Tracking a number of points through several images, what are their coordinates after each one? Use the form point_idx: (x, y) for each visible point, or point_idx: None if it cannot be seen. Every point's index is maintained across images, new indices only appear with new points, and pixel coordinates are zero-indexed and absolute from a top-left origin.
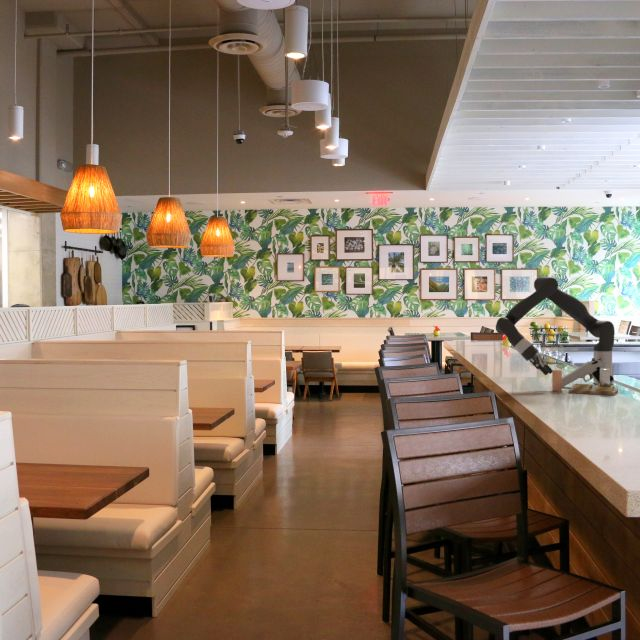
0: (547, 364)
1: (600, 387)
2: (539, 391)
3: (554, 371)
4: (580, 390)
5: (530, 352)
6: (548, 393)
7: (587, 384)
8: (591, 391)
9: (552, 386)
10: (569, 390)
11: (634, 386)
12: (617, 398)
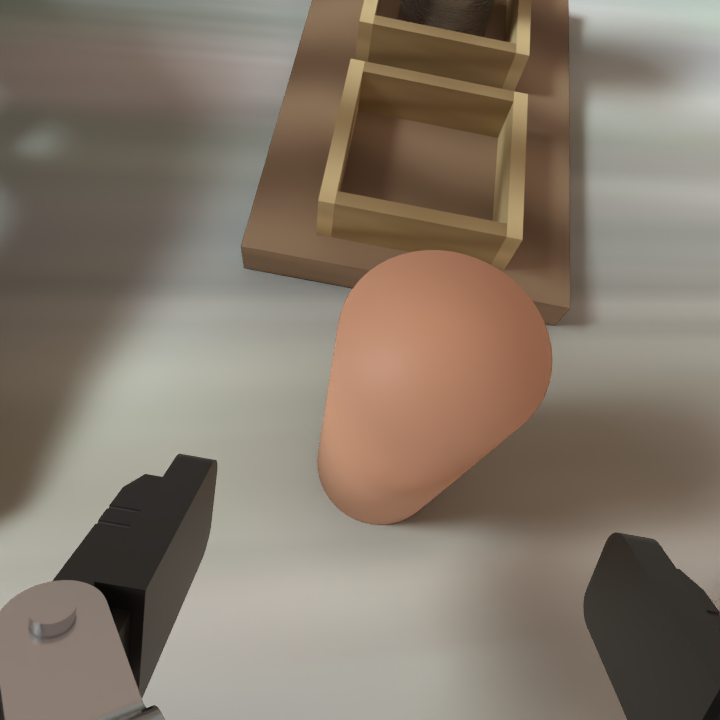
0: (75, 607)
1: (527, 24)
2: (555, 706)
3: (536, 400)
4: (563, 201)
5: None
6: (711, 551)
7: (356, 98)
8: (568, 121)
9: (413, 510)
10: (567, 304)
11: None
12: (710, 12)
